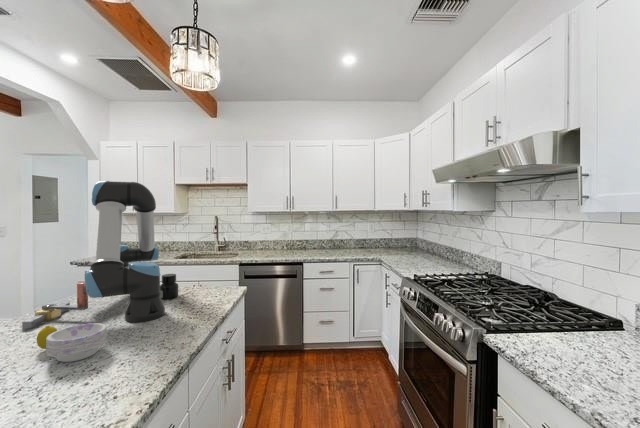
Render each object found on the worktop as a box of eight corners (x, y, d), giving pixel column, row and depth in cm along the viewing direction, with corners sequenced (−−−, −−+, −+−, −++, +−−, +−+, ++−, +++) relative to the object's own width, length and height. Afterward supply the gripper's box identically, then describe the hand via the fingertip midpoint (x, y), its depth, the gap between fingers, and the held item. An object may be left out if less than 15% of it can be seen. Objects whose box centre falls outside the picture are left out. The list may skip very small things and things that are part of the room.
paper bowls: (97, 340, 108) (96, 318, 108) (114, 352, 99) (114, 328, 99) (40, 357, 96) (39, 333, 95) (54, 373, 87) (53, 345, 86)
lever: (90, 307, 130) (90, 282, 130) (82, 311, 126) (82, 284, 126) (48, 306, 132) (47, 281, 131) (39, 309, 128) (38, 283, 127)
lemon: (33, 351, 99) (32, 327, 99) (53, 344, 105) (52, 321, 104) (42, 355, 97) (42, 330, 97) (62, 347, 102) (62, 324, 102)
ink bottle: (164, 295, 163) (163, 273, 163) (181, 294, 164) (180, 272, 164) (156, 300, 154) (156, 277, 153) (174, 300, 155) (174, 276, 154)
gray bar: (73, 308, 142) (73, 299, 142) (35, 328, 118) (35, 318, 118) (58, 309, 141) (58, 300, 141) (17, 329, 117) (17, 319, 117)
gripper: (126, 285, 154) (102, 299, 131) (96, 286, 152) (67, 300, 129) (125, 270, 154) (101, 282, 131) (96, 271, 152) (66, 283, 129)
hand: (84, 291), depth 130 cm, fingers closed
